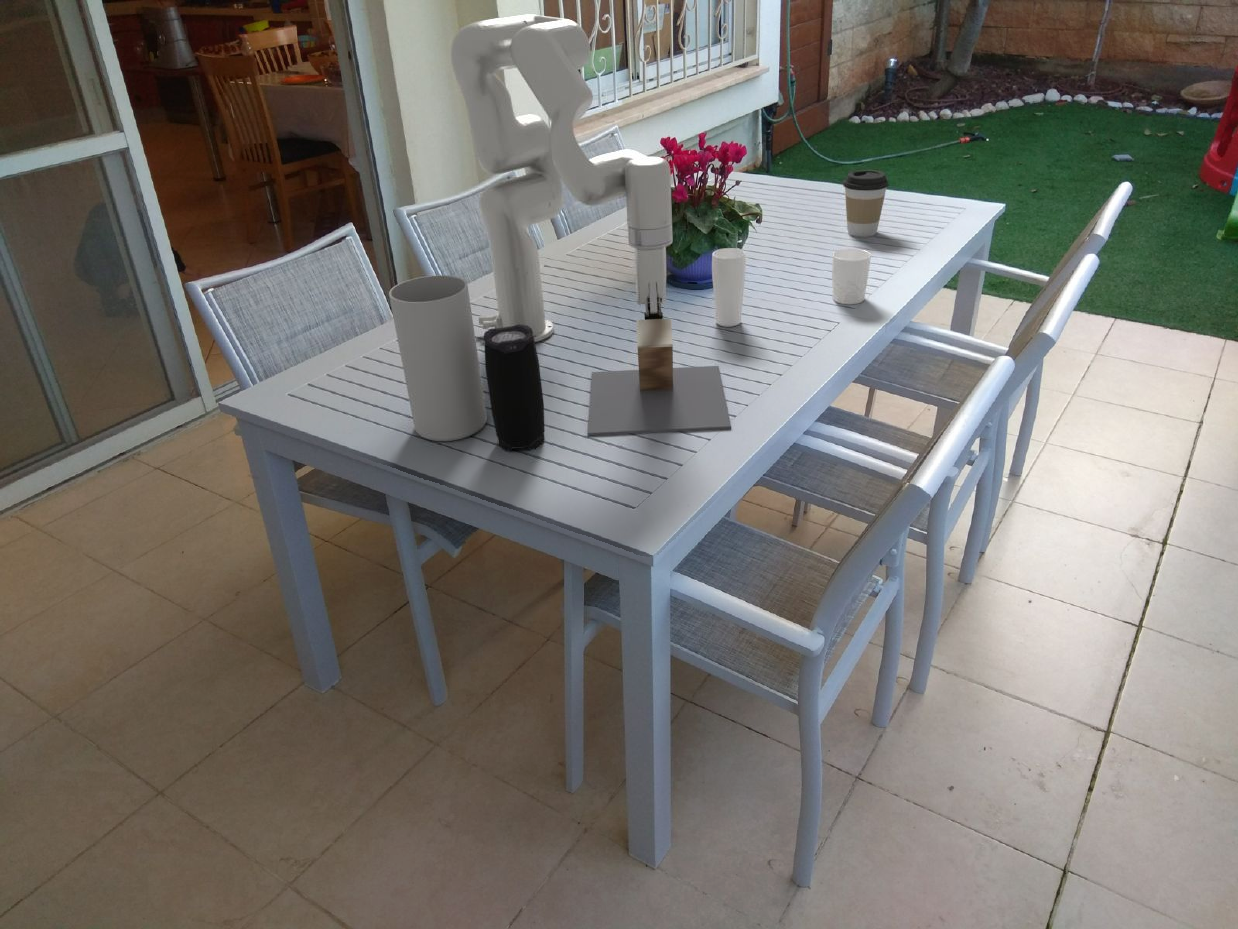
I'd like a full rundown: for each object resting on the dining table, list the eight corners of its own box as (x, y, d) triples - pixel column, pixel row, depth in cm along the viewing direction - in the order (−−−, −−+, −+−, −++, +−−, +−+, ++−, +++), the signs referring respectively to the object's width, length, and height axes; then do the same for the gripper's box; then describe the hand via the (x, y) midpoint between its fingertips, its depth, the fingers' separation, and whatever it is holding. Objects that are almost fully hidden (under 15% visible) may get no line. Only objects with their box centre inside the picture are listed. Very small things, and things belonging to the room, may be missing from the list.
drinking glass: (743, 329, 191) (744, 258, 183) (710, 328, 192) (710, 258, 185) (746, 317, 197) (747, 247, 189) (714, 316, 198) (713, 247, 190)
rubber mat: (587, 435, 156) (587, 433, 156) (591, 374, 177) (591, 372, 176) (731, 428, 155) (731, 426, 155) (718, 368, 176) (718, 365, 176)
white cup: (829, 305, 200) (831, 259, 195) (830, 292, 206) (833, 248, 201) (866, 306, 198) (870, 260, 193) (867, 293, 205) (871, 248, 200)
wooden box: (639, 390, 168) (637, 345, 158) (638, 365, 172) (636, 320, 162) (673, 389, 168) (672, 343, 158) (671, 363, 172) (670, 318, 162)
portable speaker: (542, 425, 160) (530, 318, 150) (551, 451, 152) (540, 340, 142) (492, 433, 159) (477, 325, 149) (499, 459, 151) (484, 348, 141)
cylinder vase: (502, 421, 162) (483, 284, 149) (446, 450, 154) (421, 308, 142) (456, 402, 170) (434, 270, 157) (400, 429, 162) (373, 292, 149)
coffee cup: (858, 223, 248) (862, 166, 241) (893, 232, 241) (899, 172, 233) (830, 233, 242) (834, 175, 235) (866, 242, 235) (871, 182, 227)
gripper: (627, 222, 164) (632, 320, 173) (628, 249, 151) (634, 353, 160) (670, 220, 164) (673, 318, 173) (674, 246, 151) (677, 350, 160)
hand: (654, 334), depth 167 cm, fingers closed
